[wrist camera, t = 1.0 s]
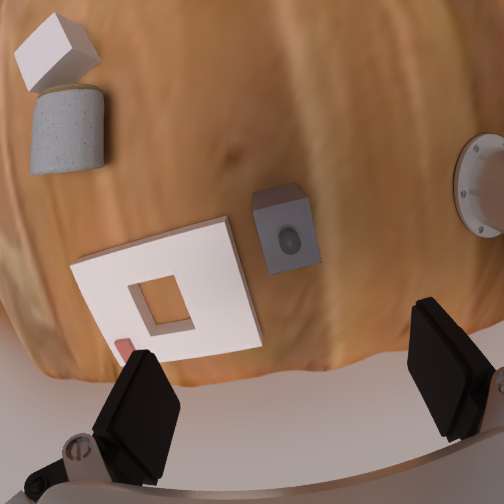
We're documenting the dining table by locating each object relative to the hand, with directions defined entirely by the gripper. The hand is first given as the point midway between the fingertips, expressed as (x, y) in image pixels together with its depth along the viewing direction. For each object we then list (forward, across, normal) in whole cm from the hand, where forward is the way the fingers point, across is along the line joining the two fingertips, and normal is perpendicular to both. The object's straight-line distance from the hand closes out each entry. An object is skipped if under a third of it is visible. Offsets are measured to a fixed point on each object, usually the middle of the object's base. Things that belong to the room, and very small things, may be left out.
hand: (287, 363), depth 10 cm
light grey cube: (+21, +17, -23) cm, 35 cm away
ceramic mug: (+21, +18, -14) cm, 31 cm away
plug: (+21, -1, 0) cm, 21 cm away
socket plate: (+20, +13, +6) cm, 25 cm away
